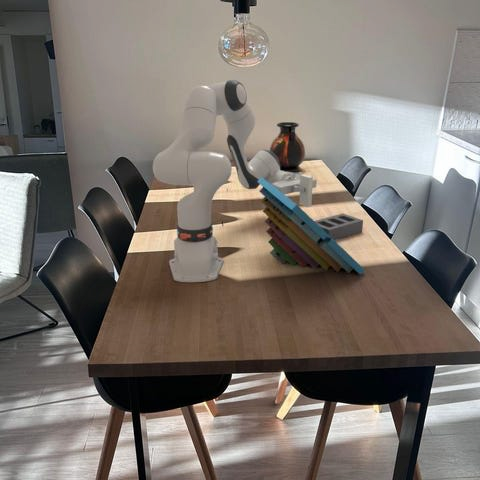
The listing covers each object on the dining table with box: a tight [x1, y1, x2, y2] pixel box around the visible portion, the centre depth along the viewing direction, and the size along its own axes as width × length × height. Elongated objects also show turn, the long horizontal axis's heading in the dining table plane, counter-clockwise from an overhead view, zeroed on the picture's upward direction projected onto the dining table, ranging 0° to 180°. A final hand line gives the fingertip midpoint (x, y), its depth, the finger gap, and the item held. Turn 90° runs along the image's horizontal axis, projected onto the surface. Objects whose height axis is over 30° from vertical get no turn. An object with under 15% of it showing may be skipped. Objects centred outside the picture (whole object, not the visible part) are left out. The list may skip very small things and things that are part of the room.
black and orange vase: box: [269, 121, 306, 172], centre depth 292 cm, size 22×22×28 cm
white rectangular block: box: [298, 174, 314, 208], centre depth 195 cm, size 5×2×12 cm, turn 36°
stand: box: [313, 213, 364, 241], centre depth 196 cm, size 11×19×5 cm, turn 125°
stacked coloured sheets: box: [257, 177, 366, 276], centre depth 170 cm, size 35×18×35 cm
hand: (307, 189), depth 194 cm, fingers closed on white rectangular block, 2 cm apart
